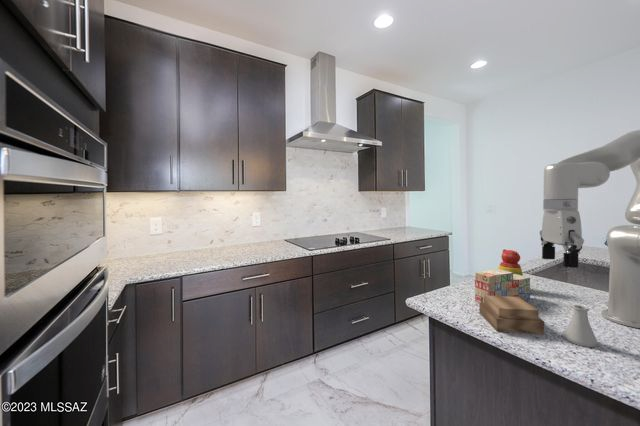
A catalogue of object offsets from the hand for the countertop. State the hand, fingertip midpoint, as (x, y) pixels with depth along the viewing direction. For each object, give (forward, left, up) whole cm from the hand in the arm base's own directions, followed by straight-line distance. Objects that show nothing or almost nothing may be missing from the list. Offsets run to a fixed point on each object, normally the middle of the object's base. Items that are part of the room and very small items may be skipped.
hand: (558, 262), depth 77 cm
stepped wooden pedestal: (+10, -6, -22) cm, 25 cm away
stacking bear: (-7, -41, -22) cm, 47 cm away
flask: (-4, +3, -22) cm, 23 cm away
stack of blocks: (+3, -26, -22) cm, 34 cm away
